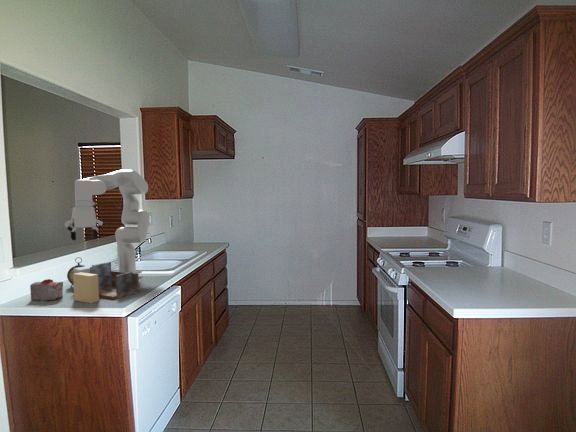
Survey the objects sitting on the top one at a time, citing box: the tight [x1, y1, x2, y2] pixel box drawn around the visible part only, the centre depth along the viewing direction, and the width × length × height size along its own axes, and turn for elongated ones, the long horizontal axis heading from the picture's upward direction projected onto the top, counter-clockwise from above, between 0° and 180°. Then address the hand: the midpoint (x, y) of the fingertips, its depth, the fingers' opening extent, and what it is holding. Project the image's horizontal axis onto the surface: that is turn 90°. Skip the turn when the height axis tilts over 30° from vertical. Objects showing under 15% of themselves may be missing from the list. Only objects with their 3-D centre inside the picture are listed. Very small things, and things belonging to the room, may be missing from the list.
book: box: [73, 272, 100, 304], centre depth 176 cm, size 4×12×13 cm, turn 66°
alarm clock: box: [66, 256, 86, 288], centre depth 203 cm, size 11×5×16 cm, turn 106°
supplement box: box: [74, 265, 91, 274], centre depth 193 cm, size 7×7×13 cm
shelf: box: [89, 261, 140, 301], centre depth 189 cm, size 16×22×14 cm
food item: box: [29, 278, 64, 302], centre depth 179 cm, size 14×8×10 cm, turn 91°
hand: (84, 239), depth 180 cm, fingers open, 9 cm apart
